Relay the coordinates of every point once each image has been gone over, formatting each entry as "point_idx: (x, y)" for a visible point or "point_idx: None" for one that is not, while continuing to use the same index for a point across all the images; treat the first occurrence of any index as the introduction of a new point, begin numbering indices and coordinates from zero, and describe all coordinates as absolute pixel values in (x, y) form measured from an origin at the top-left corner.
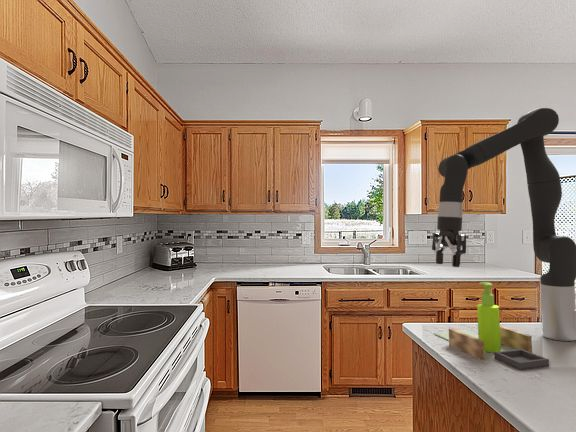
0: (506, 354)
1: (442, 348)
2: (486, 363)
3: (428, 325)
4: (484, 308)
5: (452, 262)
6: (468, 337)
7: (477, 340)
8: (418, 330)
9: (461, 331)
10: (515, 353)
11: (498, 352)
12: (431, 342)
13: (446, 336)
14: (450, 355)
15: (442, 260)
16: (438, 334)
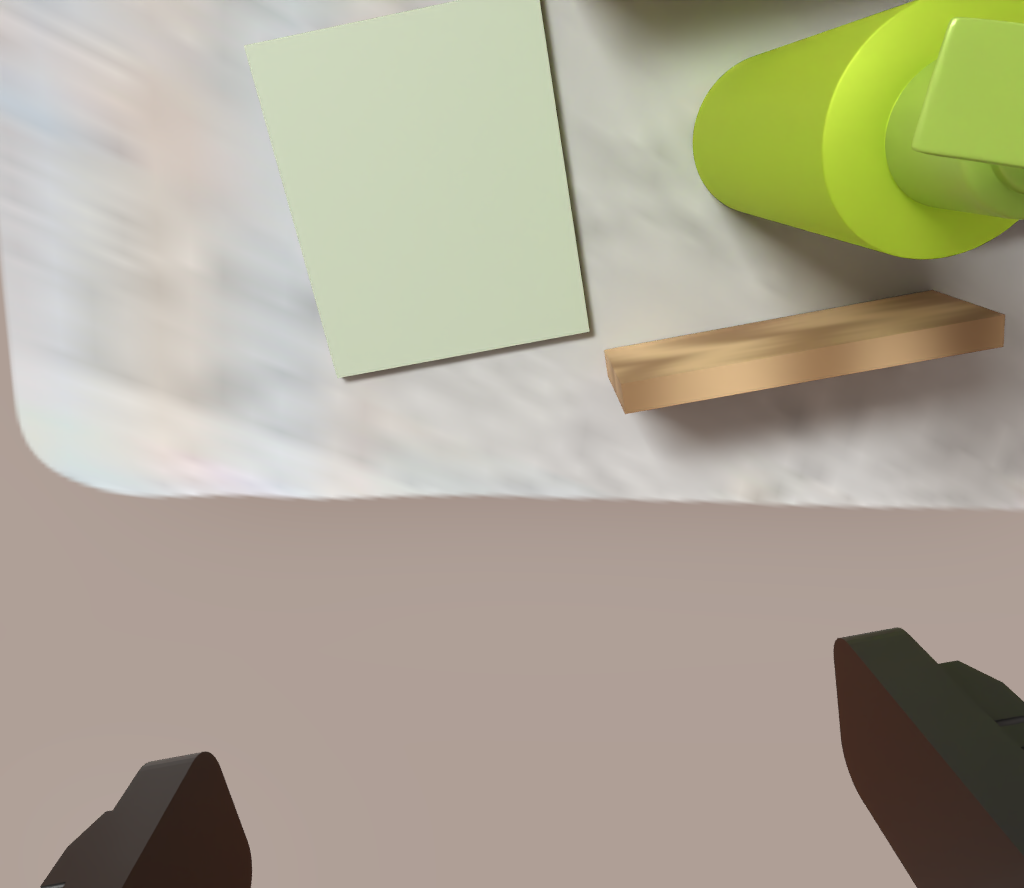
0: None
1: (675, 452)
2: None
3: (67, 313)
4: (1001, 227)
5: (902, 852)
6: (871, 368)
7: (975, 350)
8: (230, 448)
9: (305, 127)
10: None
11: None
12: (540, 469)
13: (442, 323)
14: (811, 460)
15: (170, 820)
16: (383, 360)
